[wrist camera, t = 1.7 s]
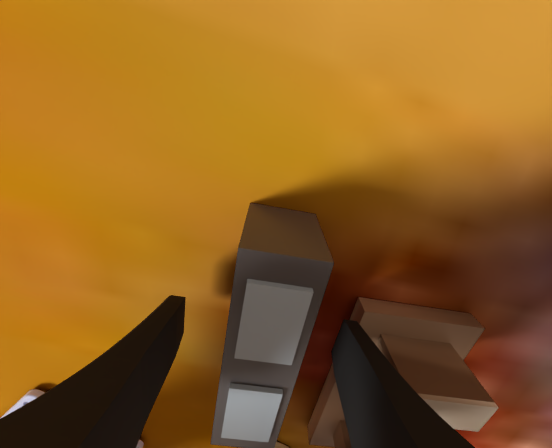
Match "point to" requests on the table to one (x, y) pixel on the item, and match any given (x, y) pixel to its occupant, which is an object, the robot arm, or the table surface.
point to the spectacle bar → (269, 322)
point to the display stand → (414, 366)
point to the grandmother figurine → (280, 445)
